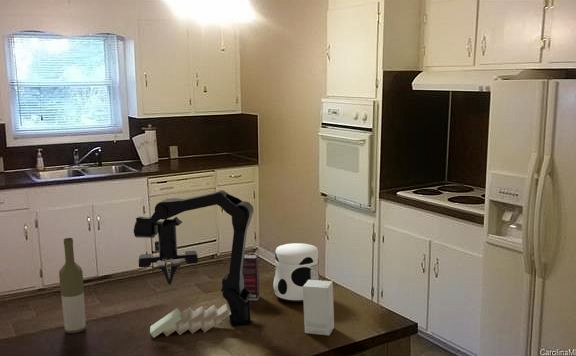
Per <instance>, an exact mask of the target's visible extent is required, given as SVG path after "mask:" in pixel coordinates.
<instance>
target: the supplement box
mask: <svg viewBox="0 0 576 356" xmlns="http://www.w3.org/2000/svg"><path fill="white" fill-rule="evenodd" d="M259 268H260V267H259V254H244V260H243V268H242V273H243V278H244V287H245V288H246V289H247V290H248V291H249V292H250V293H251V296H250V299H249V300H248V301H258V300H259V298H260V272H259V271H260V270H259Z"/></svg>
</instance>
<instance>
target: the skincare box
mask: <svg viewBox="0 0 576 356" xmlns="http://www.w3.org/2000/svg"><path fill="white" fill-rule="evenodd" d="M334 311H335V310H334V285H333V280H332V281H331V280H321V279H320V280H308V281H307V282H306V283H305V285H304V286H303V317H304V318H303V323H304V333H305V334H310V335H319V336H330V335H331V333H332V332H333V330H334V328H335V313H334Z"/></svg>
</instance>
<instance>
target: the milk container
mask: <svg viewBox="0 0 576 356" xmlns="http://www.w3.org/2000/svg"><path fill="white" fill-rule="evenodd" d="M274 260H275V262H274V263H275V264H274V265H275V274H274V278H273V282H272V283H273V285H272V286H273V292H274V294H275V295H276V297H277V298H279V299H281V300H283V301H286V302H295V303H298V302H299V303H300V302H303V286H304V285H305V283H306V282H307V281H308V280H321V277H320V273H319V250H318V247H317V246H315V245H313V244H309V243H300V242H299V243H298V242H297V243H296V242H295V243H293V242H292V243H285V244H281V245H278V246H277V247H276V249H275V254H274ZM303 303H304V302H303Z"/></svg>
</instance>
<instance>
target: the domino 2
mask: <svg viewBox="0 0 576 356" xmlns="http://www.w3.org/2000/svg"><path fill="white" fill-rule="evenodd" d="M180 312H181V320H179V321H178V322H176V323H175V324H173V325H172V326H171V327H169V328H168V329H166V330H165V331H163V332H162V333H163V334H164V335H165V337H168V336H170V335H172V333H174V332H175V331H176V330H177V329H178V328H180V327H181V326H183V325H184V324H186V323H187V322H189V321H190V320H192V319H193V318H194V314H193V312H194V310H193V309H192V308H191V307H190V306H189V307H187V308H186V309H185V310H183V311H180ZM176 332H177V331H176Z"/></svg>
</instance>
